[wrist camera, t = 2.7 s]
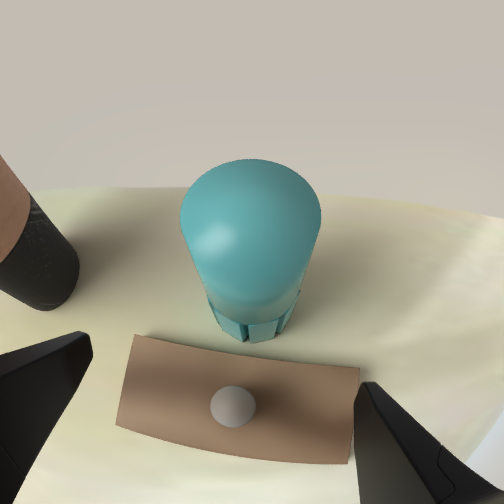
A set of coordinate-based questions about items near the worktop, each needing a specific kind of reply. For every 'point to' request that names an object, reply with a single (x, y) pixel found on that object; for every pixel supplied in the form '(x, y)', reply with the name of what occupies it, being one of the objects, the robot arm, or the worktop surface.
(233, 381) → the brown block with knob
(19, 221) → the travel mug
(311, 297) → the worktop surface
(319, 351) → the worktop surface
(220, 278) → the teal cap
